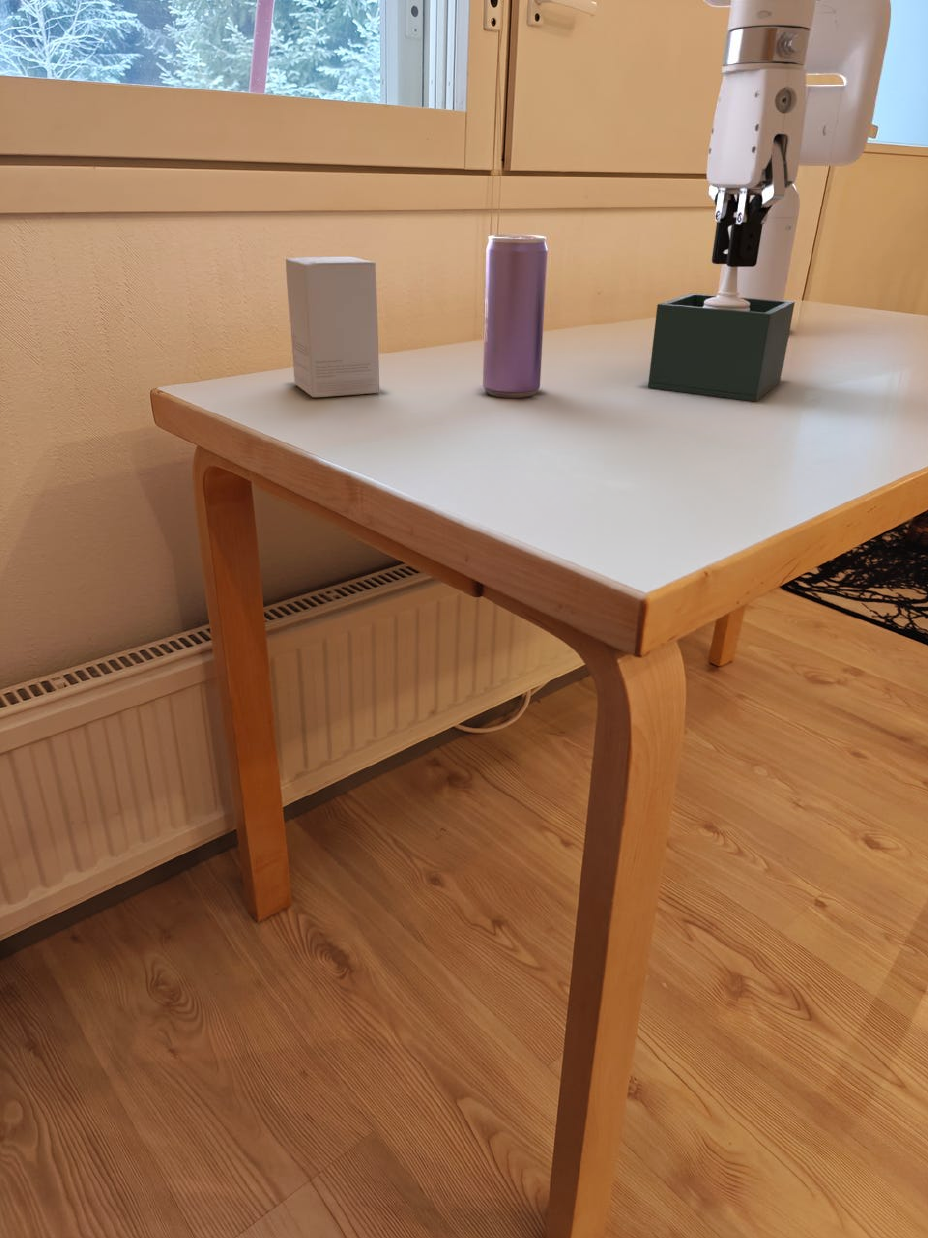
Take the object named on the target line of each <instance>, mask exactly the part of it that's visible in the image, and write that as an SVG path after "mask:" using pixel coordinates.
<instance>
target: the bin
mask: <svg viewBox="0 0 928 1238" xmlns="http://www.w3.org/2000/svg"><path fill="white" fill-rule="evenodd" d="M716 296H717V295H713V294H704V293H703V294H701V293H688V294H686V295H682V296H679V297H676V298H672V299H670V300H667V301H664V302H661V303H657V306H656V315H655V323H654V331H653V341H652V349H651V358H650V367H649V375H648V383H647V388H649V389H656V390H657V389H658V390H662V391H663V390H664V391H670V392H671V391H672V392H680V393H686V394H693V395H702V396H709V397H717V398H725V399H733V400H740V401H748V402H754V403H756V402H757V401H758V400H760V398H762V397H763V396H765V395H766V394H767V393H768V392H770V391H771V390H772V389H773V388H774V387H776V386H777V385H778V384H780V382H781V379H782V375H783V374H782V373H783V368H784V363H785V357H786V353H787V346H788V342H789V335H790V329H791V324H792V320H793V314H794V308H795V303H796V302H795V301H788V300H783V301H778V300H765V299H753V298H741V299H744V300H746V301H748V302H749V303H750V306H749V308H750V311H740V310H729V309H717V308H706V307H703V306H704V301H705V300H707V299H709V298H712V297H716ZM739 298H740V297H739Z"/></svg>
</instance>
